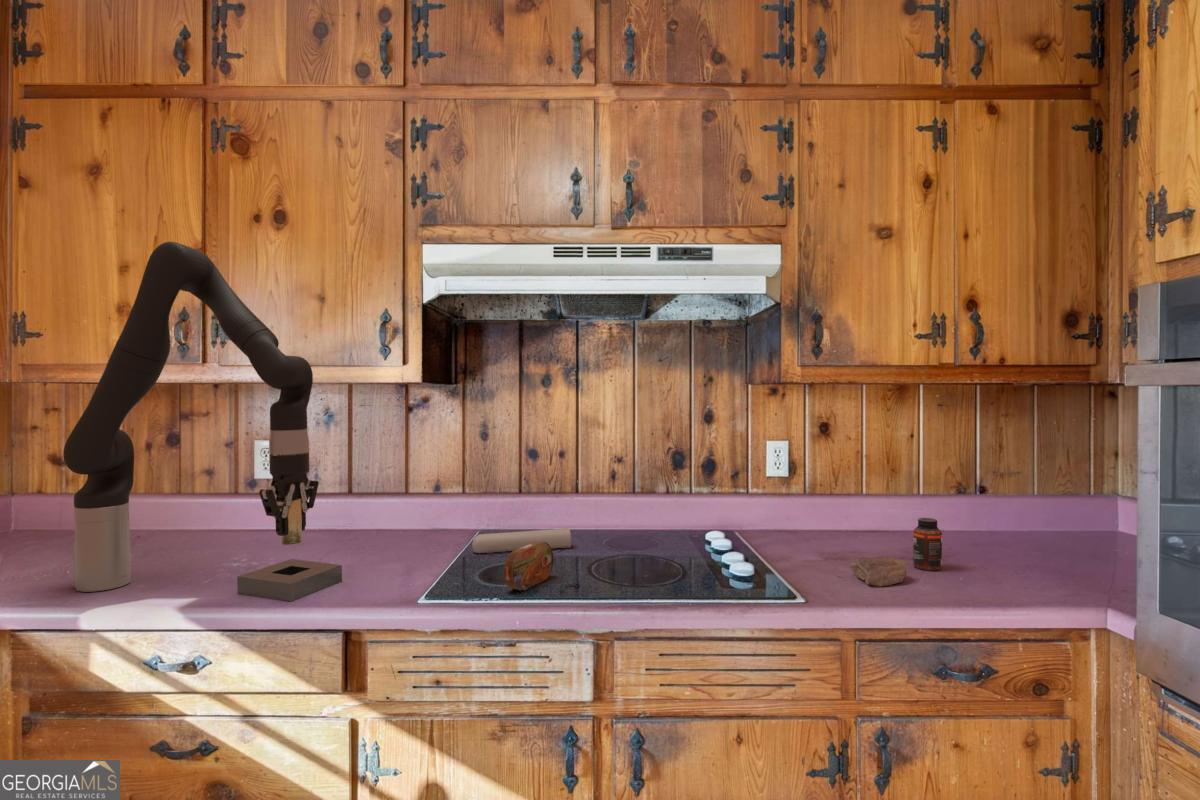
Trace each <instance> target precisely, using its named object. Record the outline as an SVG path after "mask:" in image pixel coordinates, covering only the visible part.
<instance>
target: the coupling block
mask: <svg viewBox="0 0 1200 800" xmlns="http://www.w3.org/2000/svg"><path fill="white" fill-rule="evenodd" d="M236 579H237V582H236V583H237V588H236V589H237V594H239V595H244V596H252V597H259V598H266V599H271V600H278V601H286V602H293V601H295V600H298V599H300V598H302V597H306V596H308V595H311V594H313V593H316V592H318V591H321V590H323V589H326V588H329V587H331V586H333V585H336V584H338V583H341V582H343V565H342V564H337V563H336V564H335V563H329V562H320V561H310V560H305V559H295V558H290V559H287V560H284V561H280V562H278V563H275V564H272V565H269V566H265V567H263V568H259V569H256V570H253V571H250V572H247V573H244V574H240V575H237V576H236Z"/></svg>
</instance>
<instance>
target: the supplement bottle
mask: <svg viewBox="0 0 1200 800" xmlns="http://www.w3.org/2000/svg"><path fill="white" fill-rule="evenodd" d="M917 524H918V525H917V526H916V527H915V528H914V529H913V537H912V538H913V543H912V544H913V549H912V550H913V552H912V553H913V556H912V558H913V563H912V564H913V566H914V567H915V568H916V569H919V570H923V571H931V572H932V571H933V572H934V571H939V570H941V569H942V568H943V567H942V566H943V532H942V530H941V529H940V528H939V527H938V519H936V518H930V517H919V518H918V519H917Z"/></svg>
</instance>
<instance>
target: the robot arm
mask: <svg viewBox="0 0 1200 800" xmlns="http://www.w3.org/2000/svg"><path fill="white" fill-rule="evenodd" d="M141 278H142V279H141V282H140V285H139V288H138V291H137V295H136V297H135V300H134V302H133V305H132V307H131V309H130V312H129V314H128V317H127V319H126V322H125V324H124V326H123V329H122V331H121V333H120V335H119V336H118V339H117V341H116V342H115V345H114V347H113V349H112V352H111V354H110V357H109V358H108V360H107V363H106V366H105V368H104V370H103V372H102V375H101V376H100V379H99V381H98V384H96V387H95V390H94V392H93V393H92V396H91V399H90V400H89V402H88V403H87V406H86V407H85V410H84V412H83V413H82V415H80V417H79V419H78V421H77V422H76V424H75V426H74V427H73V429H72V431H71V432H70V434H69V435H68V438H67V439H66V442H65V444H64V447H63V462H64V464H65V466H66V467H67V468H68V469H69V470H70V471H71V472H72V473H75V474H78V475H81V476H82V475H87V476H86V477H87V478H86V481H85V483H84V484H83V486H81V488H80V489H79V490H77V492H75V494H74V496H73V513H74V514H73V515H74V517H73V518H74V541H73V543H72V559H73V561H72V563H73V564H72V565H73V587H75V590H76V591H77V592H84V593H85V592H86V593H87V592H88V593H89V592H91V593H92V592H101V591H107V590H113V589H118V588H120V587H123V586H125V585H128V584H129V583H131V540H130V539H131V535H130V532H131V531H130V530H131V529H130V494H131V491H132V489H133V486H134V473H135V472H134V471H135V449H134V448H135V447H134V444H133V441H132V438H131V436H130V435H129V434H128V433H126V431H124V430H122V429H121V426H122V424H123V422H124V420H125V419H126V417H127V415H128V414H129V413H130V411H131V410H132V409H133V408H134V407H135V406H136V405H137V404H138V403H139V402H140V401H141V400H142V399H143V398H144V397H145V396H146V394H148V393H149V392H150V390H151V389H152V388H153V387H154V385H155V384H156V383H157V381H158V380H159V378H160V376H161V374H162V372H163V369H164V367H165V365H166V363H167V360H168V359H169V356H170V351H171V335H170V333H171V332H170V314H171V311H172V308H173V306H174V303H175V301H176V298H177V296H178V295H179V292H180V291H183V292H188V293H190V294H191V295H193V296H194V297H196V298H197V299H198V300H200V301H201V302H203V304H204V305H206V306H207V307H208V308H209V309H210V310H211V312H212V313H213V314H214V316H215V318H216V320H217V323H218V324H219V326H220V328H221V329H222V331H223V333H224V334H225V335H226V337H228V339H229V340H230V341H231V342H232V343H233V344H234V345H235V347H236V348H238V349H239V350H240V352H241V353H243V354H244V355H245V356H246V357H247V358H248V360H249V362H250V364H251V366H252V367H253V369H254V370H255V372H256V374H257V376H258V377H259V378H260V379H261V381H263V382H264V383H265V384H266V385H267V386H269V387H270V388H273V389H276V390H279V391H280V393H279V397H278V398H279V399H278V400H277V401H274V403H272V404H271V406H270V408H269V429H270V430H269V438H268V450H269V453H268V455H269V456H268V457H269V475H271V476H272V480H271V483H270V485H269V486H268V487H266V488H262V489H260V490H259V492H258V493H259V497H260V500H261V503H262V507H263V509H264V512H265V514H266V516H267V517H272V518H274V519H275V532H276V535H277V536H280V537H281V536H286V535H288V518H287V517H286V516H287V512H288V507H289V506H290V505H291V500H293V499H299V498H300V499H301V508H302V532H303V531H305V529H306V526H307V517H306V516H307V512H308V510H309V509H313V508H314V506H315V502H316V498H317V493H318V488H319V481H318V480H313V479H312V480H311V479H309V478H308V475H307V474H308V473H309V472H310V439H309V437H310V436H309V433H308V411H307V409H308V405H309V402H310V398H311V392H312V389H313V383H314V375H313V374H314V373H313V370H312V367H311V364H310V363H309V361H308V360H306V359H305V358H304V357H301V356H298V355H286V354H284V353H283V352H282V351H281V350H280V349H279V343H280V342H279V339H278V337H277V336H276V334H274V333H273V331H271V329H270V328H268V326H266V324H265V323H264V322H263V321H262V320H261V319H260V318H258V317H257V316H256V314H254V313H253V312H252V311H251V309H249V307H248V306H246V304H245V303H244V302H243V301H242V299H241V298H239V296H238V295H237V294H236V292H235V291H234V290H233V289H232V287H231V286H230V285H229V283H228V282H227V281H226V280H225V278H224V276H223V274H222V273H221V272H220V270H219V269H218V268H217V266H216V265H215V264H214V262H213V261H212V260H211V258H210V257H209V256H208V255H206V253H204V252H202V251H200V250H198V249H196V248H193V247H191V246H188V245H186V244H182V243H179V242H176V241H165V242H163V243H161V244H159V245H158V246H156V247H155V248H154V250H153V251H152V253H151V254H150V256H149V258H148V260H147V263H146V266H145V269H144V272H143V275H142V277H141ZM280 500H282V501H284V502H280ZM281 506H282V510H281ZM280 510H281V511H280Z"/></svg>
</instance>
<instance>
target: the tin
mask: <svg viewBox="0 0 1200 800" xmlns="http://www.w3.org/2000/svg"><path fill="white" fill-rule="evenodd" d="M553 568H554V552H553V549H551V547H550V545H549V544H548V543H546V542H534V543H531V544H529V545H526V546H524V547H521V548H519V549H516V550H514V551H512V552H509V554H508V555H507V557H506V560H505V562H504V570H503V571H504V572H503V574H504V580H505V584H506V586H507V587H508V588H509V589H511V590H514V589H515V590H516V591H520V592H522V591H521V590H523V589H525V588H527V587H529V586H532V585H534V584H537V583H539V584H541V583H543V582H545V581H546V580H548V578H549V577H550V576H551V573H552V571H553ZM544 580H545V581H544ZM542 581H543V582H542ZM540 582H541V583H540ZM537 585H538V584H537Z"/></svg>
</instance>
